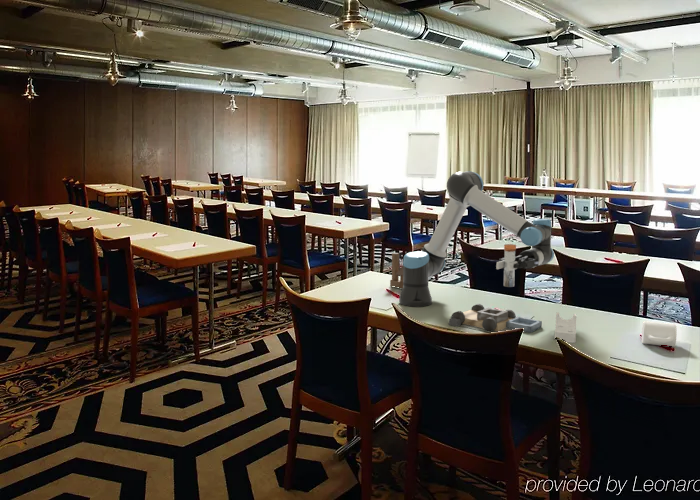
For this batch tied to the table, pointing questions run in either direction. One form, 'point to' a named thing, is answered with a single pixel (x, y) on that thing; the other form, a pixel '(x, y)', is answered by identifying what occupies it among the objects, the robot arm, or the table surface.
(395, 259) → the tan notched upright
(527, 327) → the tray
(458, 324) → the chock
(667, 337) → the white slotted housing
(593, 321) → the table surface
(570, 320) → the bracket
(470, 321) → the cart deck
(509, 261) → the orange capped tube
